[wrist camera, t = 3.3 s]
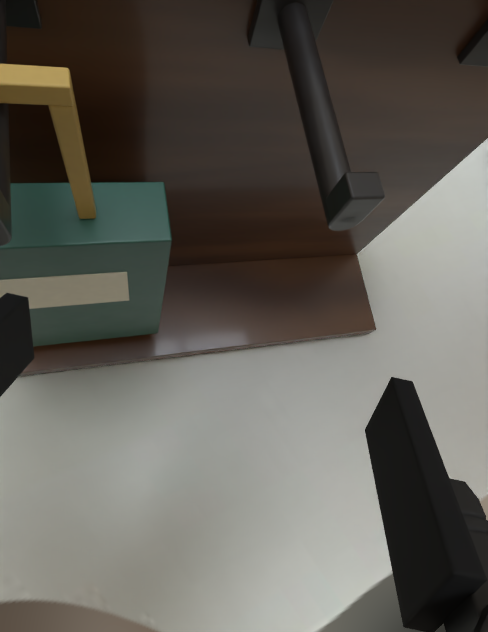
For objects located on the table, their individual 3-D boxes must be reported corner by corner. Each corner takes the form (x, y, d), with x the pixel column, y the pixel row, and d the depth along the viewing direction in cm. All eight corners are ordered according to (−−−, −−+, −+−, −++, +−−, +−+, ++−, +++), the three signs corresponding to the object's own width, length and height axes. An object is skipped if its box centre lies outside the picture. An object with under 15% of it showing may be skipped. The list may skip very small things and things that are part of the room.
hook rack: (372, 344, 36) (850, 135, 12) (16, 391, 28) (-722, 73, 4) (344, 235, 38) (685, -117, 14) (12, 251, 31) (-445, -436, 7)
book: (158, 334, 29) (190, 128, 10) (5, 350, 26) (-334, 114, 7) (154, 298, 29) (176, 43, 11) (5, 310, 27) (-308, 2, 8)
